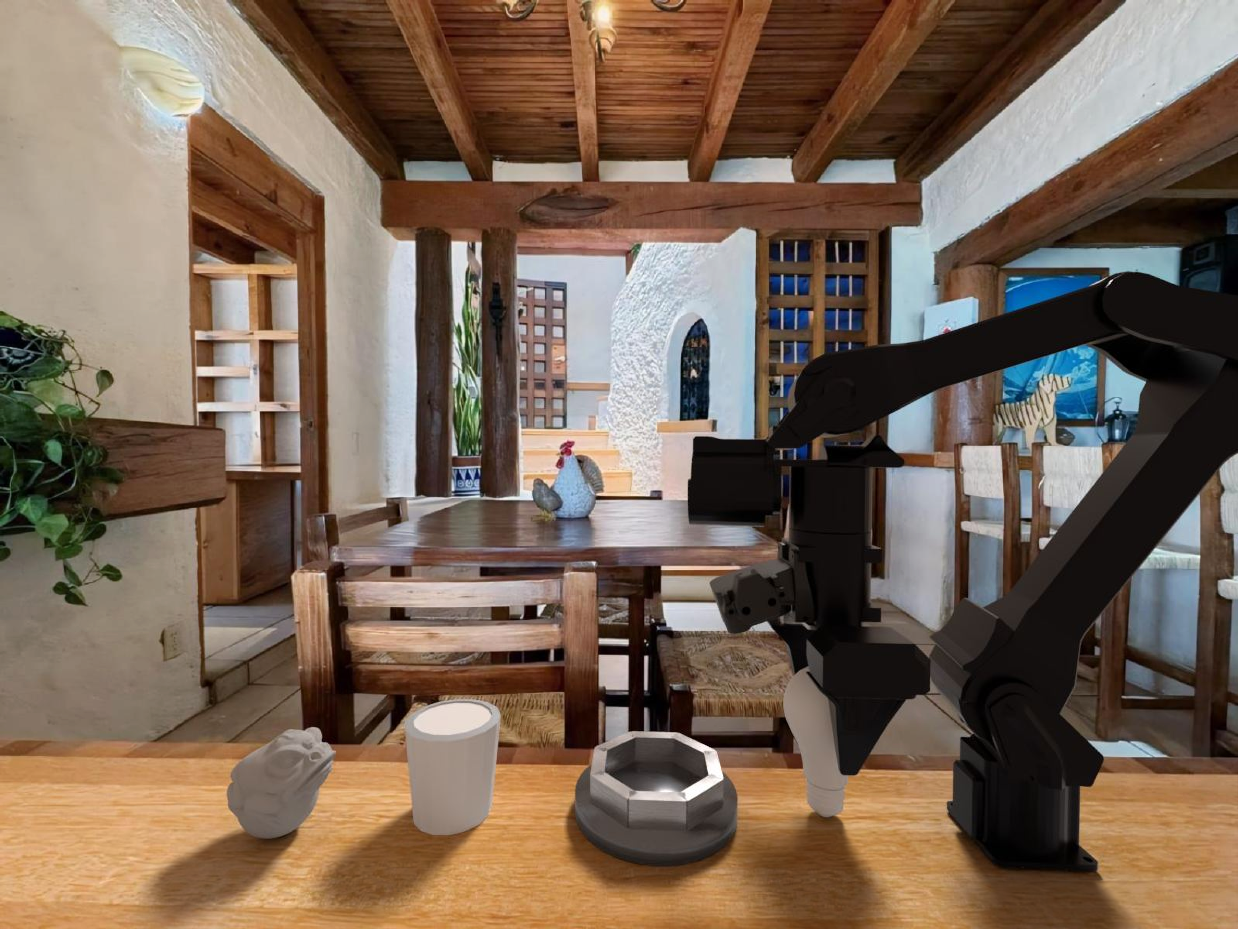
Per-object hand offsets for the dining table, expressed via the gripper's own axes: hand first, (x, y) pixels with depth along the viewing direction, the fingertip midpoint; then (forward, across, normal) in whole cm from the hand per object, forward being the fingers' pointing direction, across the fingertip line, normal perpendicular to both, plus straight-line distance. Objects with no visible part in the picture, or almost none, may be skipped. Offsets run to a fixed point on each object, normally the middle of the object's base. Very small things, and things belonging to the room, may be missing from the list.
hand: (826, 740), depth 42 cm
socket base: (+6, 0, -12) cm, 14 cm away
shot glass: (+6, +1, -28) cm, 28 cm away
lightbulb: (+6, 0, 0) cm, 6 cm away
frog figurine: (+6, +4, -38) cm, 39 cm away
